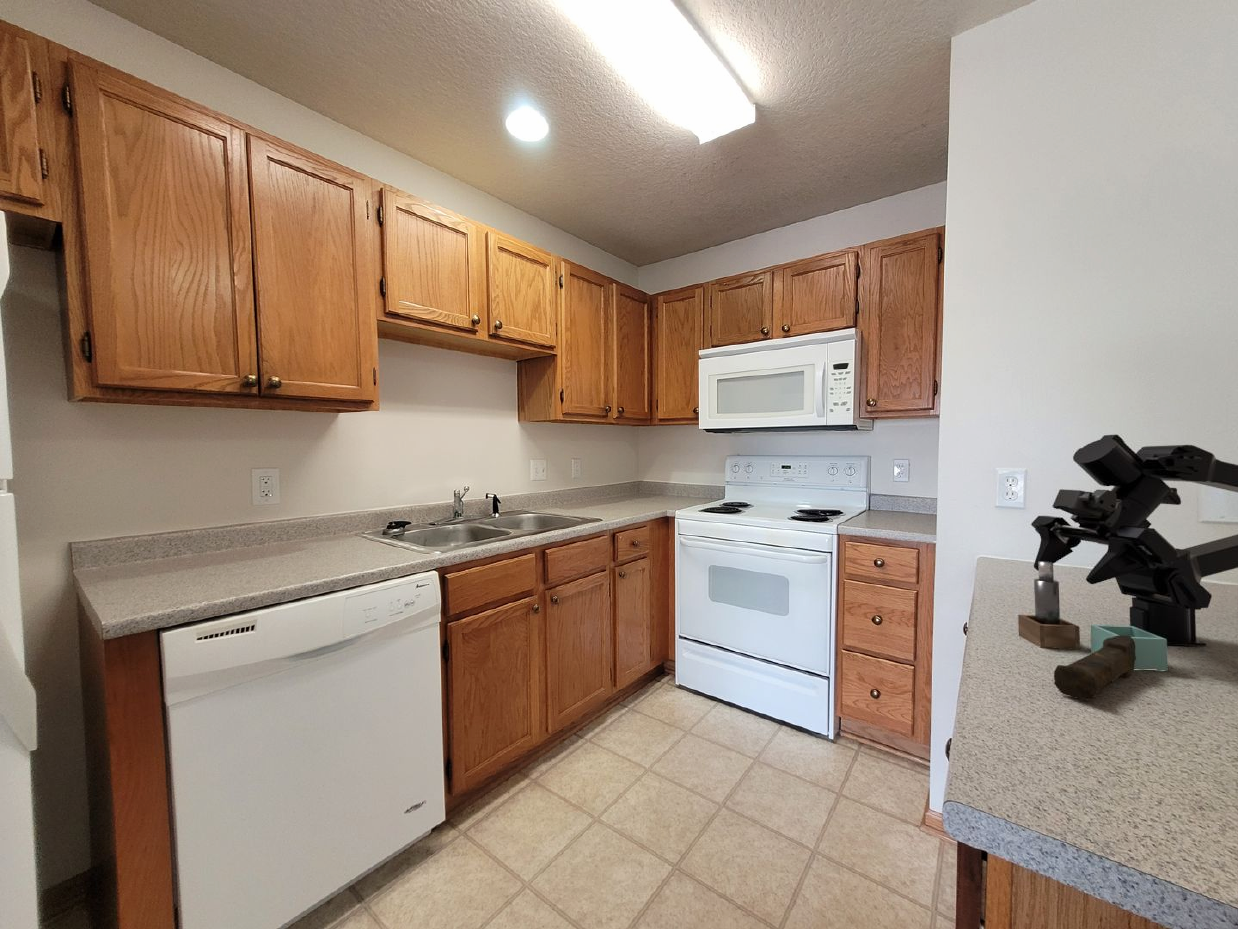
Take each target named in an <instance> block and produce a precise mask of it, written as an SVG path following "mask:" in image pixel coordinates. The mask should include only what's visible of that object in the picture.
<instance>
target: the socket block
mask: <svg viewBox="0 0 1238 929" xmlns="http://www.w3.org/2000/svg"><path fill="white" fill-rule="evenodd" d="M1017 619H1018V621H1017V622H1018V623H1017V624H1018V636H1020V637H1021V638H1022V639H1025V640H1026V639H1027V640H1026V641H1028V642H1030V643H1032V644H1034V645H1035V644H1036V646H1037V645H1038V646H1037V647H1039V646H1040V647H1039V648H1042V647H1056V648H1055V649H1067V648H1075V649H1074V650H1081V636H1080V635H1081V634H1080V630H1081V629H1080V626H1079V625H1076V624H1074V623H1072V622H1070V621H1067V620H1065V619H1063V618H1061V617H1060V625H1048V624H1040V623H1038V622H1036V621H1035V614H1018V615H1017Z"/></svg>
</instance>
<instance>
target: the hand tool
mask: <svg viewBox="0 0 1238 929" xmlns="http://www.w3.org/2000/svg"><path fill="white" fill-rule="evenodd" d="M1135 660H1136V656H1135V642H1134V640H1133V638H1131V637H1130V636H1122V635H1119V636H1115V637H1111V638H1107V639H1105V640H1104V641H1103V647H1102V648H1101V649H1099V650H1098V651H1096V652H1094V653H1092V654H1091V653H1090V654H1088V655H1086V656H1084V657H1082V658H1080V659H1078V660H1076V661H1074V662H1072V663H1070V664H1067V665H1062V664H1058V665H1056V667H1055V670H1054V671H1053V680H1054V682H1053V684H1054V685H1055V687H1056V688H1057V689H1058V690H1059V692H1060V693H1061V694H1063V695H1065V696H1069V697H1071V698H1074V699H1079V700H1087V701H1090V700H1093V699H1094V697H1096V696H1097V694H1098V692H1099V691H1100V689H1101V688H1104V687H1105V686H1106V685H1107V684H1109V683H1111V684H1112V683H1113V681H1114V680H1116V679H1117V678H1118V677H1131V675H1132V674H1133V672H1134V671H1135V670H1134V664H1135Z"/></svg>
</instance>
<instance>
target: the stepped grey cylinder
mask: <svg viewBox="0 0 1238 929" xmlns="http://www.w3.org/2000/svg"><path fill="white" fill-rule="evenodd" d="M1038 565H1039V571H1038V578H1034V579H1033V584H1034V585H1033V586H1034V587H1033V588H1034V590H1033V591H1034V592H1033V593H1034V615H1035V621H1036V622H1038V623H1040V624H1048V625H1060V618H1061V613H1060V612H1061V611H1060V610H1061V609H1060V608H1061V607H1060V604H1061V603H1060V582H1059V581H1058V580H1055V579H1054V575H1055V574H1054V563H1052V562H1045V561H1039V562H1038Z"/></svg>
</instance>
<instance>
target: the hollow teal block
mask: <svg viewBox="0 0 1238 929" xmlns="http://www.w3.org/2000/svg"><path fill="white" fill-rule="evenodd" d="M1119 635H1122V636H1130V637H1131V638H1133V640H1134V642H1135V656H1136V660H1135V664H1134V669H1157V670H1165V671H1168V670H1169V668H1168V645H1167V639H1165V638H1162V637H1159V636H1157V635H1154V634H1152V633H1149V632H1146V631H1144V630H1141V629H1139V628H1136V627H1134V626H1130V625H1111V624H1110V625H1107V624H1105V625H1104V624H1102V625H1101V624H1090V650H1091V653H1090V654H1092V653H1094V652H1096V651H1098V650H1099V649H1101V648H1102V647H1103V641H1104V640H1105V639H1107V638H1111V637H1115V636H1119Z"/></svg>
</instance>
